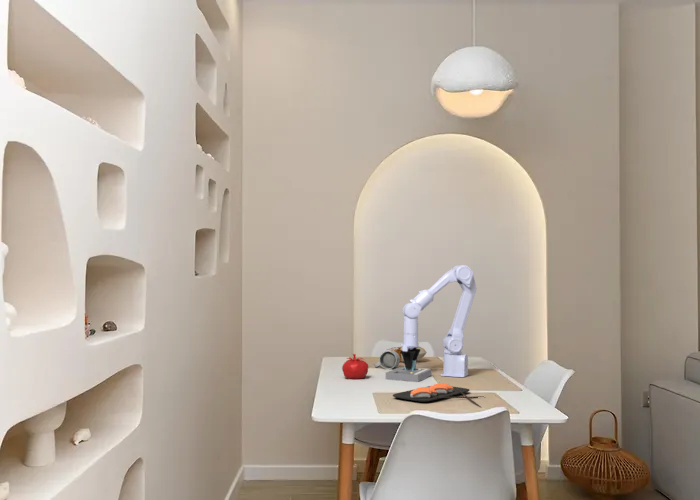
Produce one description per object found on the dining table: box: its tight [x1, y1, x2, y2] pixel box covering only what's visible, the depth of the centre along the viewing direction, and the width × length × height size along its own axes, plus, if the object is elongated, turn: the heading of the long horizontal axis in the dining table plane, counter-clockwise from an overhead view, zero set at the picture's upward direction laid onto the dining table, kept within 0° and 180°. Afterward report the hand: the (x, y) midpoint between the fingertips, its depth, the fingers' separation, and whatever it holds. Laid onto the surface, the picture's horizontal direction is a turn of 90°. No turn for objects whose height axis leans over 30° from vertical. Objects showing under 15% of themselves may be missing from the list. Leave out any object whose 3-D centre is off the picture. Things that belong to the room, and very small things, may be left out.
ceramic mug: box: [373, 350, 401, 370], centre depth 311 cm, size 11×8×8 cm
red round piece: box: [341, 353, 369, 380], centre depth 282 cm, size 10×10×9 cm
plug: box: [404, 360, 417, 371], centre depth 290 cm, size 4×4×7 cm
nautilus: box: [387, 345, 427, 363], centre depth 332 cm, size 8×22×15 cm
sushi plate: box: [392, 382, 485, 408], centre depth 240 cm, size 29×30×4 cm
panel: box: [385, 366, 432, 383], centre depth 285 cm, size 13×17×3 cm
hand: (410, 367), depth 290 cm, fingers open, 4 cm apart
